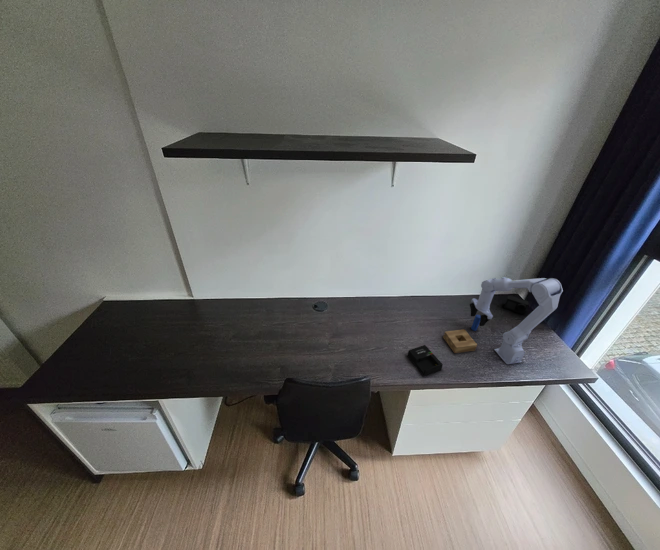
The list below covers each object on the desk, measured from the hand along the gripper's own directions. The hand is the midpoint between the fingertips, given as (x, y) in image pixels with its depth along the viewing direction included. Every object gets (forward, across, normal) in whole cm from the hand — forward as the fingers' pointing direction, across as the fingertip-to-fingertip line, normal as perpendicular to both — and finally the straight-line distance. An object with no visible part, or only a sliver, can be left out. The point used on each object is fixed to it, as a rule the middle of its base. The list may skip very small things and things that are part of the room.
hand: (477, 320), depth 152 cm
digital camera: (+6, +11, -33) cm, 35 cm away
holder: (+6, -9, +14) cm, 17 cm away
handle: (+6, 0, 0) cm, 6 cm away
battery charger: (+6, -17, +37) cm, 41 cm away
